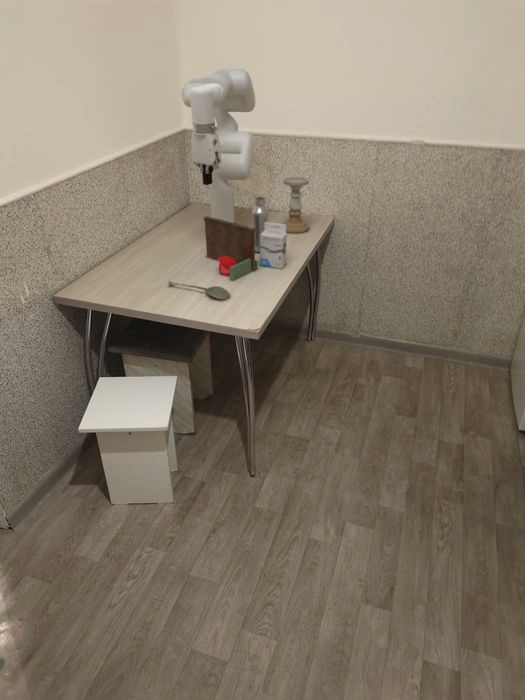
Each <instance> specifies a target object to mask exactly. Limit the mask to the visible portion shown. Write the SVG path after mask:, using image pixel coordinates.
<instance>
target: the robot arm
mask: <svg viewBox="0 0 525 700" xmlns="http://www.w3.org/2000/svg"><path fill="white" fill-rule="evenodd" d="M253 85H254V84H253V81H252V78H251V75H250V74H249V72H248V71H247V70H245V69H244V68H243V69H242V68H239V69H238V68H236V69H235V68H233V69H231V68H222V69H218V70H216V71H215V72H214V73H213V74H210V75H206V76H201V77H197V78H192V79H189V80H188V81H186V82H185V83H184V85H183V86H182V89H181V99H182V102H183V104H184V105H185V106H186V107H187V108H189V109H190V111H191V122H192V123H191V125H192V132H191V159H192V161H193V164H194V165H195V166H196V167H198V168H199V170H200V173H201V176H202V184H203V186H208V188H209V189H208V190H209V204H210V205H209V207H210V217H212V218H216V219H220V220H224V221H228V222H231V223H235V222H236V221H235V192H234V188H233V185H232V184H231V183H230V181H245V180H248V179H249V178H250V175H251V172H252V166H253V158H254V151H255V140H254V136H253V135H252V134H251V133H250V132H247V131H238V130H239V124H238V122H237V120H236V119H235V118H234V117H233V116H232V115H231V114H230V113H250V112H253V110H254V109H255V107H256V94H255V90H254V86H253ZM235 224H236V223H235Z"/></svg>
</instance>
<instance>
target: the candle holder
mask: <svg viewBox="0 0 525 700" xmlns="http://www.w3.org/2000/svg"><path fill="white" fill-rule="evenodd" d="M282 182H283V184H284V185H286V186H289V188H290V189H291V192H290V193H289V197H290V201H289V204H288V209H289V210H288V212H287V214H288V215H289V217H288V218H289V219H288V220H284V222H282V223H281V224H286V233H287V234H288V233H289V234H302V233H305V232H308V231H309V230H310V225H309V223H307V222H305V221H304V220H302V219H301V216H302V214H303V212H302V210H301V209H302V208H303V205H302V201H301V197H302V195H303V194H302V192H301V189H302V188H303V186H307V185H308V184H309V183H310V179H308V178H305V177H300V176H291V177H285V178H283V181H282Z"/></svg>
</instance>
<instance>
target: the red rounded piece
mask: <svg viewBox="0 0 525 700" xmlns="http://www.w3.org/2000/svg"><path fill="white" fill-rule="evenodd" d="M216 261H217V262H218V270H219V273H220V274H221V275H225V276H230V267H232V266H234V265H236V264H238V263H237V262H236V261H235V260H234V258H233V257H232V258H231V257H228V256H223V257H219V258H217V260H216Z"/></svg>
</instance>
